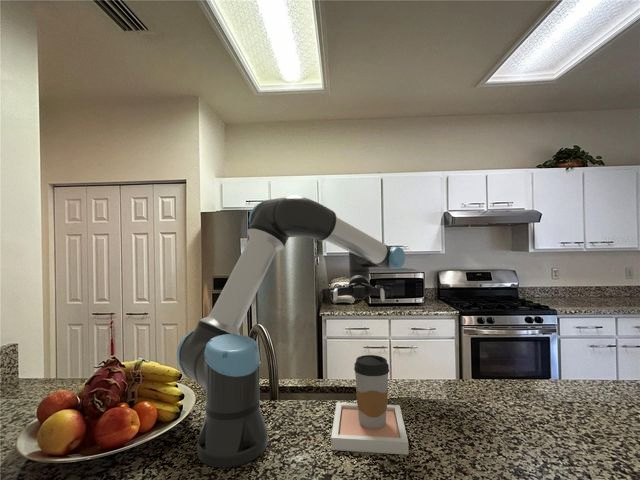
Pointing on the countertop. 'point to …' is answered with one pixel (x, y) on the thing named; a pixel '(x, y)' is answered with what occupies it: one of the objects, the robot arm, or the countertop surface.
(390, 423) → the button
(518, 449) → the countertop surface
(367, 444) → the button housing
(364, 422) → the coffee cup
